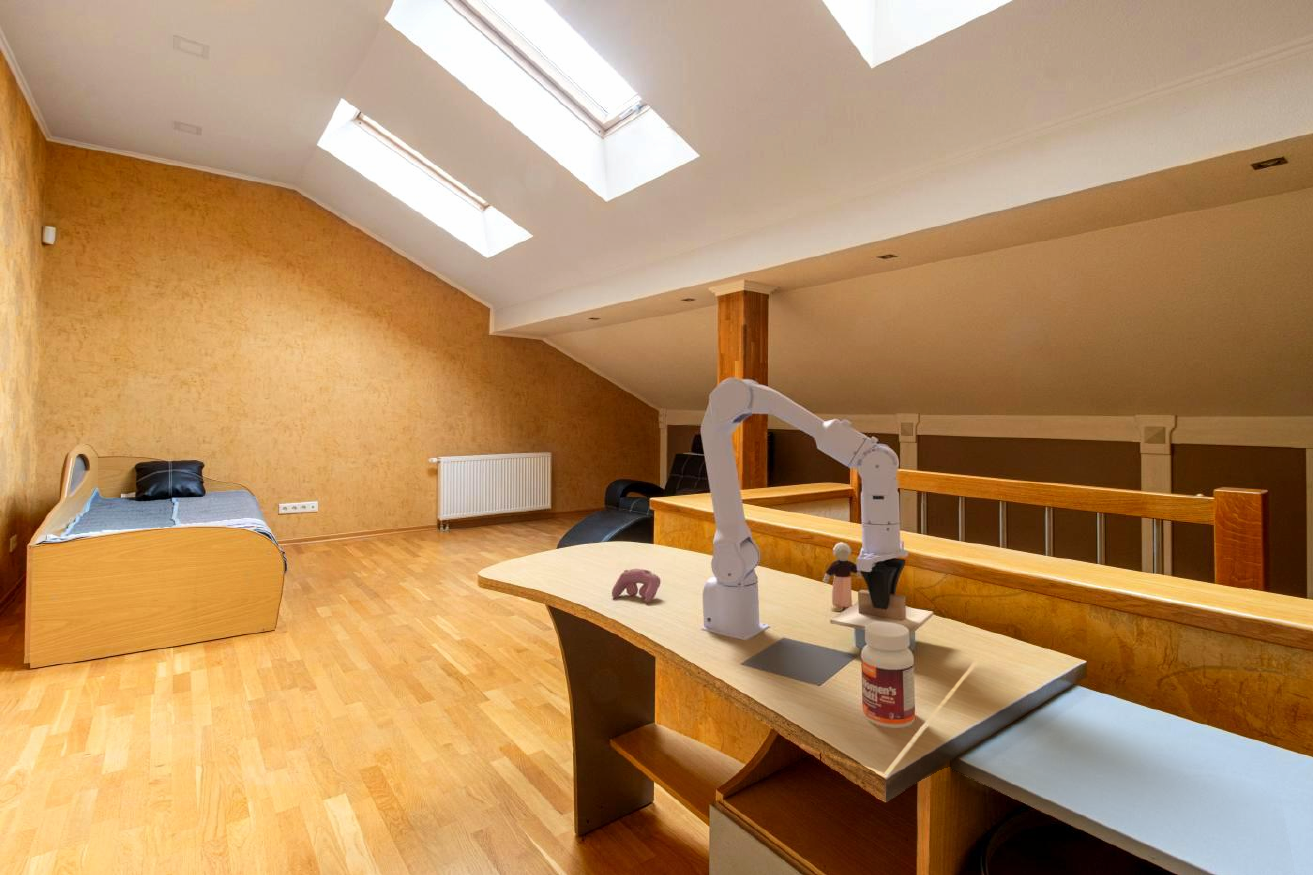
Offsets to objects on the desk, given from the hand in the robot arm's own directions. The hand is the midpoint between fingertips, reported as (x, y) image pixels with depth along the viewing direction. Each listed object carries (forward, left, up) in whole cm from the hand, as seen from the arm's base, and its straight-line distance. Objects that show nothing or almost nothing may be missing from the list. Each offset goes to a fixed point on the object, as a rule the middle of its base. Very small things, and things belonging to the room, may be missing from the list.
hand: (883, 606), depth 100 cm
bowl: (0, 0, -6) cm, 6 cm away
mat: (-8, -13, -6) cm, 17 cm away
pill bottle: (+9, -22, -7) cm, 25 cm away
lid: (0, 0, -2) cm, 2 cm away
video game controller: (-52, -2, -7) cm, 52 cm away
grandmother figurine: (-13, +14, -7) cm, 20 cm away
